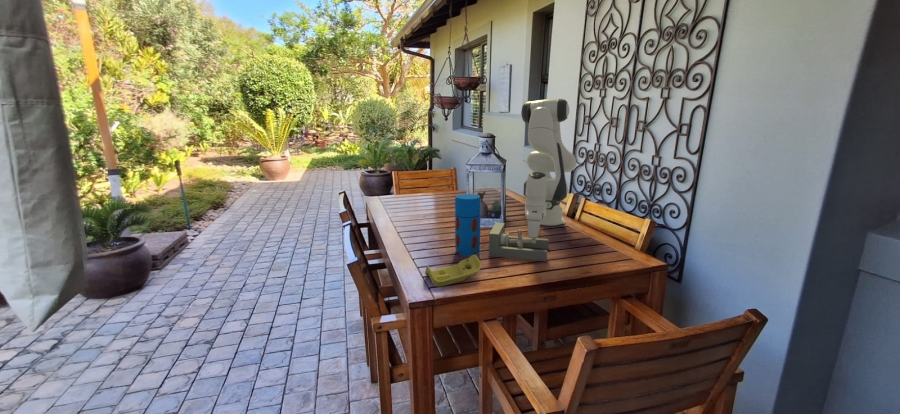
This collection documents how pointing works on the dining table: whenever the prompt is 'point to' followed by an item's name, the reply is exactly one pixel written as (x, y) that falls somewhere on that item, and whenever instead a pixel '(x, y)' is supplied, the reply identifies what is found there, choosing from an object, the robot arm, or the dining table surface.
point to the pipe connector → (520, 240)
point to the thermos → (467, 224)
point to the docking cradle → (511, 252)
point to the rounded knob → (505, 239)
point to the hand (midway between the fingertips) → (533, 242)
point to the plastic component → (454, 272)
